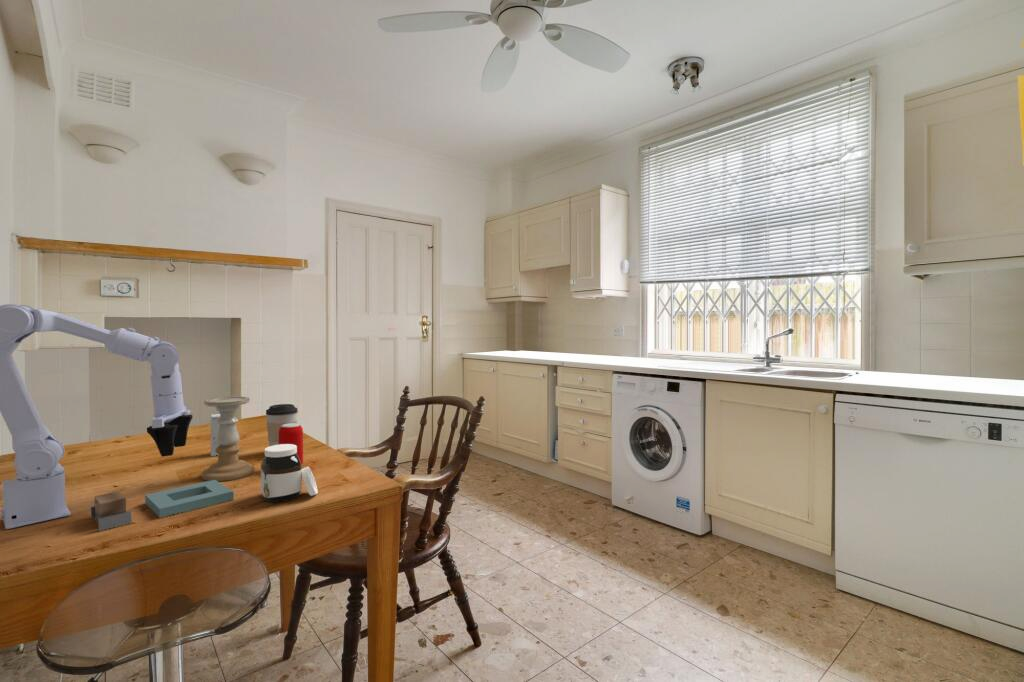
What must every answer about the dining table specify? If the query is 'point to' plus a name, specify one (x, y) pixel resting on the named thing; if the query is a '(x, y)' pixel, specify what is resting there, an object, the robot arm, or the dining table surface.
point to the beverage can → (292, 437)
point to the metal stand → (111, 519)
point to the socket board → (188, 498)
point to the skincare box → (214, 433)
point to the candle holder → (227, 442)
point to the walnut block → (109, 504)
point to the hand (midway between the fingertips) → (173, 450)
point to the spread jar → (284, 474)
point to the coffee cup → (279, 420)
